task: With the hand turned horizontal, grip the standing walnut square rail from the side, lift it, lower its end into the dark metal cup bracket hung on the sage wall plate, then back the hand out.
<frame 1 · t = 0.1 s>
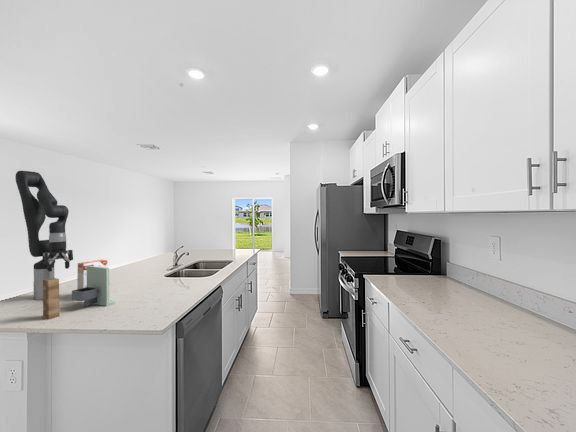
hand: (58, 269, 163), 17 cm above the countertop, tool pointing down, fingers open, 8 cm apart
cracker box: (92, 297, 171), on the countertop
cup bracket: (85, 307, 152), on the countertop
walnut rail: (51, 317, 139), on the countertop
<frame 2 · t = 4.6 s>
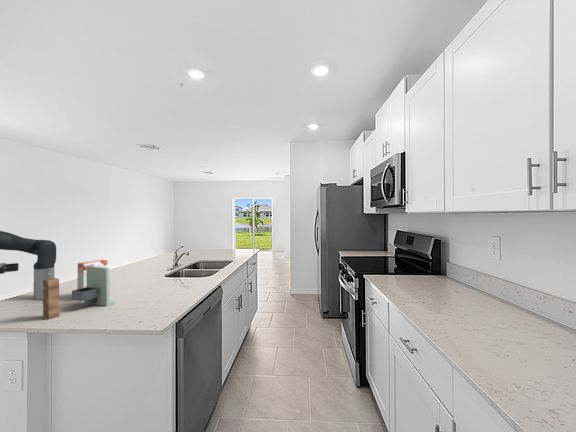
hand: (18, 266, 130), 25 cm above the countertop, tool horizontal, fingers open, 8 cm apart
nothing on the countertop moved.
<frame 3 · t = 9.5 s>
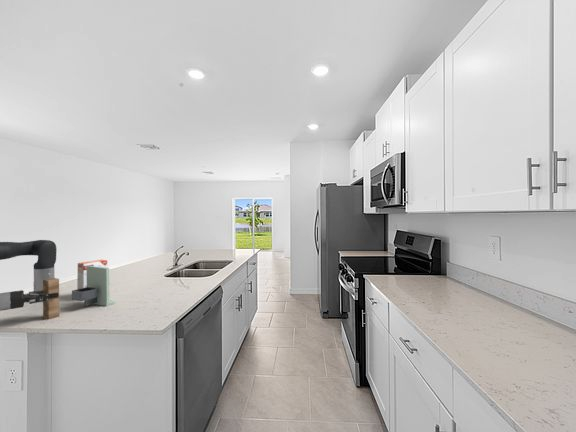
hand: (57, 293, 140), 11 cm above the countertop, tool horizontal, fingers closed on walnut rail, 5 cm apart
walnut rail: (51, 317, 138), on the countertop, touching gripper
everything else where it was.
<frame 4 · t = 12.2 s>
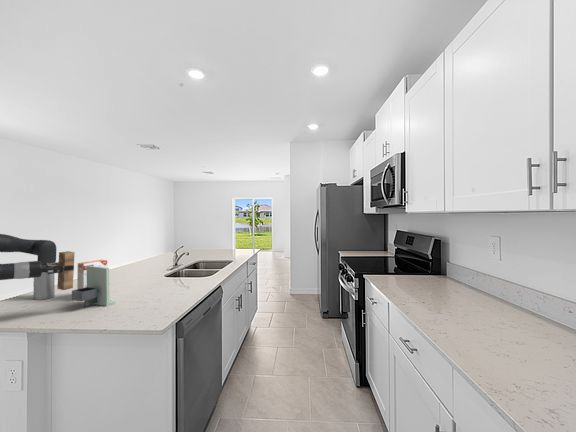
hand: (72, 266, 146), 23 cm above the countertop, tool horizontal, fingers closed on walnut rail, 5 cm apart
walnut rail: (65, 288, 145), point 12 cm above the countertop, touching gripper
everything else where it was.
when the fingers open (18 cm above the countertop, at t = 15.2 s): walnut rail drops 1 cm, resting on cup bracket.
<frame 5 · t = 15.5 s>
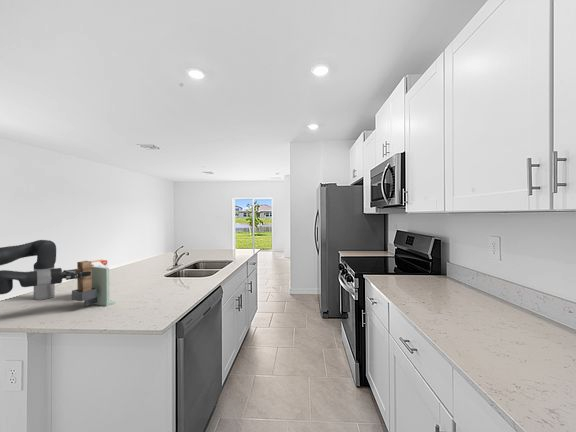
hand: (89, 272, 153), 18 cm above the countertop, tool horizontal, fingers open, 8 cm apart
walnut rail: (84, 296, 152), point 6 cm above the countertop, touching cup bracket
everything else where it was.
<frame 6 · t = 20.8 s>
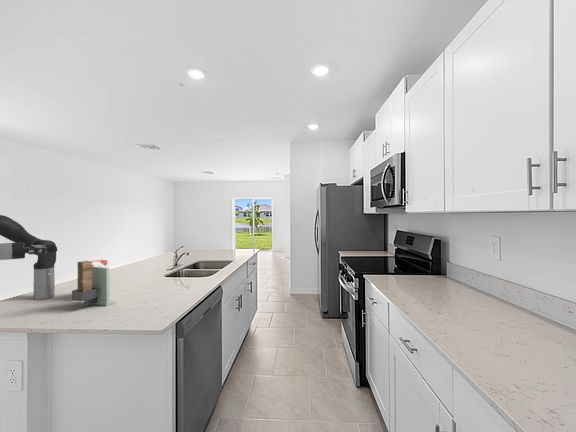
hand: (56, 248, 144), 32 cm above the countertop, tool horizontal, fingers open, 8 cm apart
nothing on the countertop moved.
at the end: walnut rail 0.1 cm off-centre on the cup bracket, point 6.0 cm above the cup bracket's base; walnut rail tilted 0°; the gripper is holding nothing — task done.
